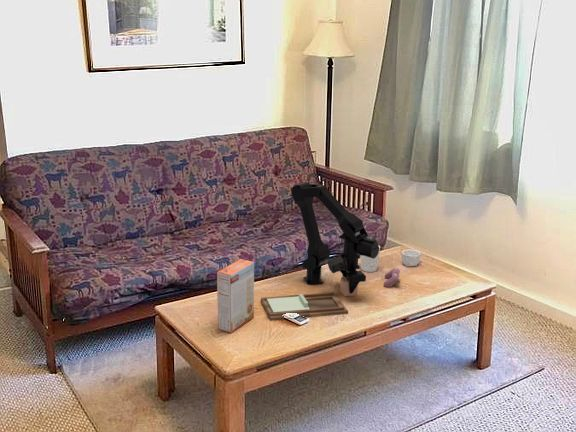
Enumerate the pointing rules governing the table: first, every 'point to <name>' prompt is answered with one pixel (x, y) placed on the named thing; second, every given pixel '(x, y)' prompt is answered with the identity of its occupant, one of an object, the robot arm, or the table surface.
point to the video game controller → (392, 277)
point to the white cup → (369, 263)
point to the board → (311, 306)
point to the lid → (288, 304)
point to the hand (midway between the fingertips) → (348, 290)
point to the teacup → (410, 257)
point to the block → (346, 287)
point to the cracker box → (235, 295)
